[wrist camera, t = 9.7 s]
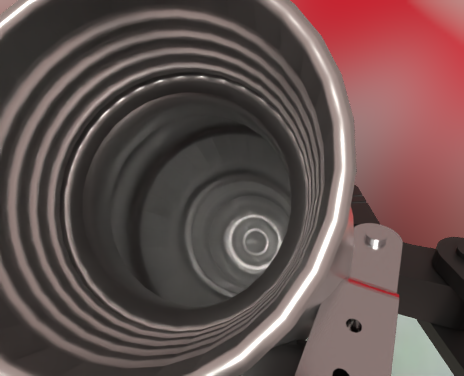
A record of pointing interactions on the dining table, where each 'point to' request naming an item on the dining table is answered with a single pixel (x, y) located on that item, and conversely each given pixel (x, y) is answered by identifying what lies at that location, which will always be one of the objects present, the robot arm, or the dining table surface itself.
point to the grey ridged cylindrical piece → (167, 185)
